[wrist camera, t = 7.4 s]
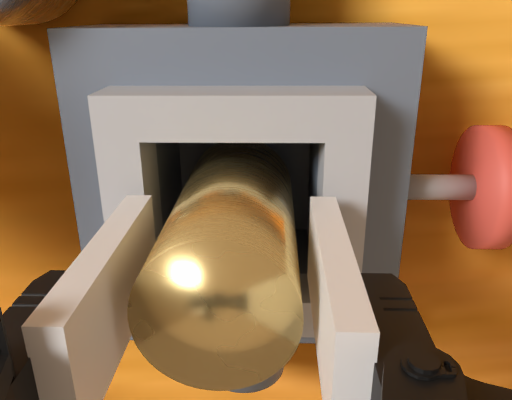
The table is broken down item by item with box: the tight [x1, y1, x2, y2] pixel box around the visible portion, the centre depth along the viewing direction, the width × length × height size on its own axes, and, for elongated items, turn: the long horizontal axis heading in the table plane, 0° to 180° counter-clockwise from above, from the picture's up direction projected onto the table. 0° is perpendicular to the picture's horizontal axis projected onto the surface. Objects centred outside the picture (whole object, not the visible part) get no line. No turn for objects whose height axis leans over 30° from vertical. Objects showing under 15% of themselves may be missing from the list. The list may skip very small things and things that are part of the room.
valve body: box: [47, 0, 512, 393], centre depth 19 cm, size 16×18×7 cm
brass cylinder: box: [127, 143, 304, 391], centre depth 15 cm, size 4×4×9 cm
